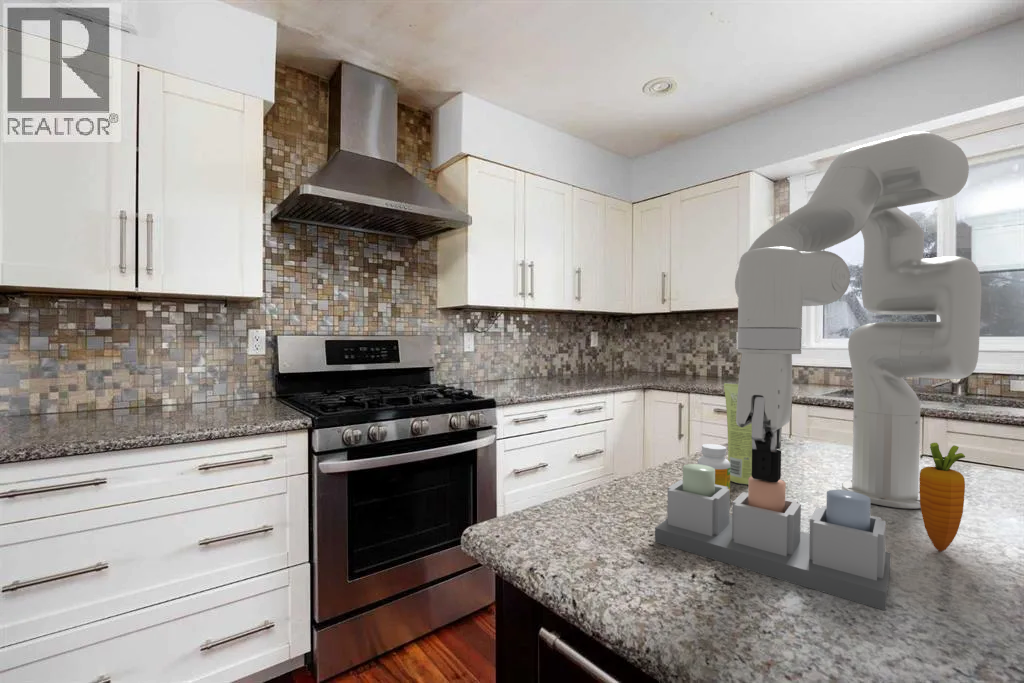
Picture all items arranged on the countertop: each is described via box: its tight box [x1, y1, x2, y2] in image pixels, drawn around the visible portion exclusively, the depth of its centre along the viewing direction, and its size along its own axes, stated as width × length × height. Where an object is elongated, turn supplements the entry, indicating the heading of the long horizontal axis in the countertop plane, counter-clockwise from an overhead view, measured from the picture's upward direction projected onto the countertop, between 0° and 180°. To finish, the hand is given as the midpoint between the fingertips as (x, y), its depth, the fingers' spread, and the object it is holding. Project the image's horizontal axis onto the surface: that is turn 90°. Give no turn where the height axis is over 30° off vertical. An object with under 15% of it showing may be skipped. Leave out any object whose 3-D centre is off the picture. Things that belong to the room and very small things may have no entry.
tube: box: [723, 382, 752, 485], centre depth 96 cm, size 6×5×20 cm
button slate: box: [826, 489, 872, 532], centre depth 59 cm, size 4×4×5 cm
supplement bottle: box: [696, 443, 731, 490], centre depth 85 cm, size 5×5×10 cm
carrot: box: [919, 442, 966, 553], centre depth 66 cm, size 5×5×15 cm
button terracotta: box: [747, 476, 787, 513], centre depth 65 cm, size 4×4×5 cm
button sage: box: [682, 463, 715, 497], centre depth 71 cm, size 4×4×5 cm
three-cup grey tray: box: [654, 479, 892, 611], centre depth 65 cm, size 12×26×7 cm, turn 50°
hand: (765, 478), depth 65 cm, fingers closed
